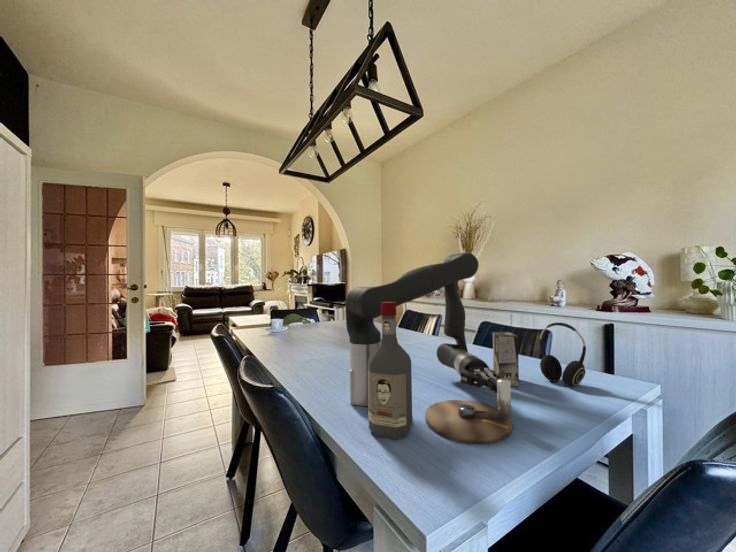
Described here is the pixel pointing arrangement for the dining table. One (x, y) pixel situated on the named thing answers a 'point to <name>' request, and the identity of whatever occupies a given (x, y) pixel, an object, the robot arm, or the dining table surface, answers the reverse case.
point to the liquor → (389, 382)
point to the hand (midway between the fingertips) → (498, 388)
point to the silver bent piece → (502, 404)
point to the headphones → (553, 367)
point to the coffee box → (506, 355)
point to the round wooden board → (466, 423)
